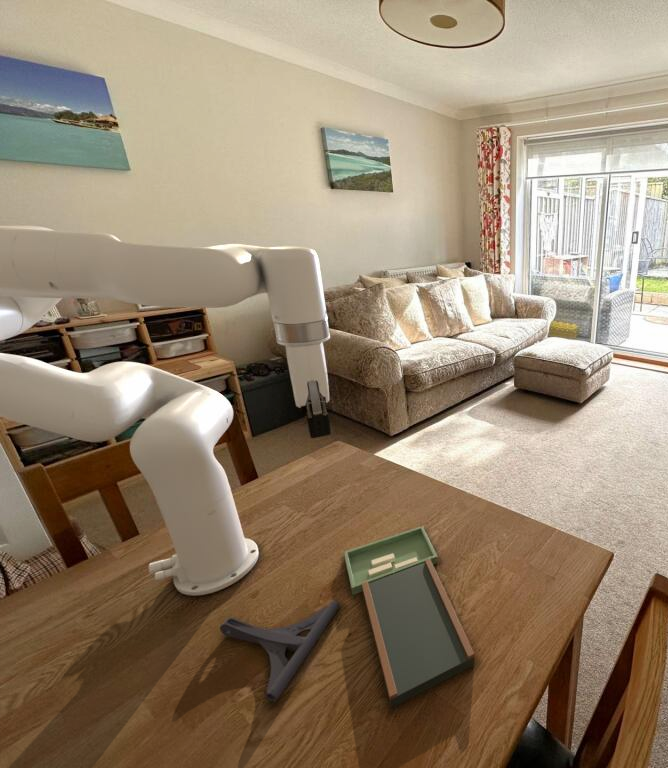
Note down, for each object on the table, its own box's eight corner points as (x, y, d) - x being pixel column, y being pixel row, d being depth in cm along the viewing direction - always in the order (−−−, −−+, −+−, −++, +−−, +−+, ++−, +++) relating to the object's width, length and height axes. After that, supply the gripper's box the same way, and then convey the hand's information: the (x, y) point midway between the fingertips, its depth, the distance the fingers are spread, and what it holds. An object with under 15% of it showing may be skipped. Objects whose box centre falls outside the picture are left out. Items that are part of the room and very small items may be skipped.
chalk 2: (367, 570, 72) (368, 574, 72) (369, 575, 71) (369, 579, 71) (390, 562, 74) (391, 566, 74) (392, 566, 73) (392, 570, 73)
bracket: (261, 592, 69) (257, 580, 68) (340, 608, 66) (338, 596, 65) (182, 680, 56) (176, 667, 55) (278, 703, 53) (273, 690, 52)
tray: (352, 595, 69) (351, 588, 68) (344, 558, 76) (343, 551, 76) (437, 562, 76) (437, 556, 75) (422, 531, 83) (422, 525, 83)
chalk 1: (371, 560, 74) (371, 564, 74) (372, 564, 73) (372, 569, 73) (393, 553, 76) (393, 557, 76) (394, 557, 75) (395, 561, 75)
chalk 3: (395, 568, 72) (394, 564, 73) (396, 573, 73) (394, 569, 73) (417, 560, 74) (415, 556, 75) (417, 565, 74) (416, 561, 75)
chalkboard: (391, 708, 53) (389, 697, 52) (363, 593, 69) (361, 583, 68) (474, 665, 58) (474, 653, 58) (430, 567, 75) (429, 557, 74)
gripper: (274, 322, 67) (294, 421, 74) (275, 345, 55) (298, 461, 62) (323, 318, 70) (338, 413, 77) (334, 339, 58) (350, 449, 65)
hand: (320, 434), depth 69 cm, fingers closed
